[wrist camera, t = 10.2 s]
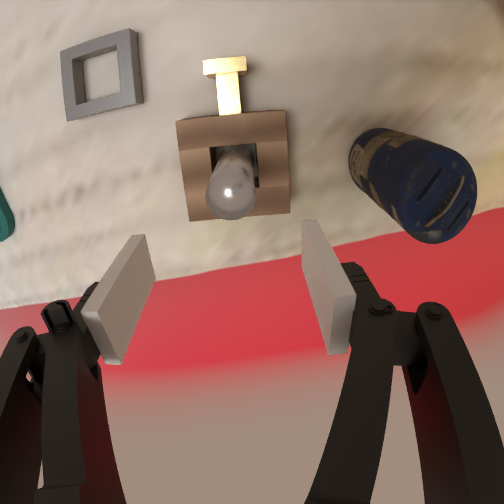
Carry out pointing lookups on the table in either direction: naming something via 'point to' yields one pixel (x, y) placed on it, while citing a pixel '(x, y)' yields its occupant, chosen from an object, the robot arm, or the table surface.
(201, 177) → the socket block
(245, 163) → the grey rounded rod
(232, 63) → the yellow t-shaped block
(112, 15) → the table surface
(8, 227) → the bracket
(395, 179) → the canister
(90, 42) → the grey square frame
